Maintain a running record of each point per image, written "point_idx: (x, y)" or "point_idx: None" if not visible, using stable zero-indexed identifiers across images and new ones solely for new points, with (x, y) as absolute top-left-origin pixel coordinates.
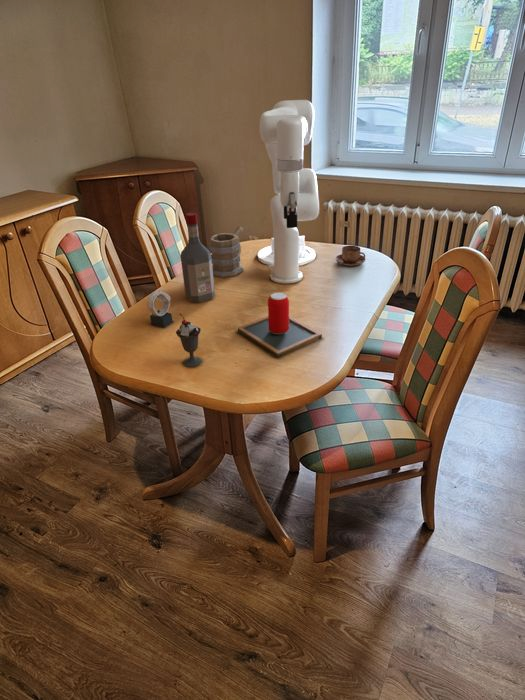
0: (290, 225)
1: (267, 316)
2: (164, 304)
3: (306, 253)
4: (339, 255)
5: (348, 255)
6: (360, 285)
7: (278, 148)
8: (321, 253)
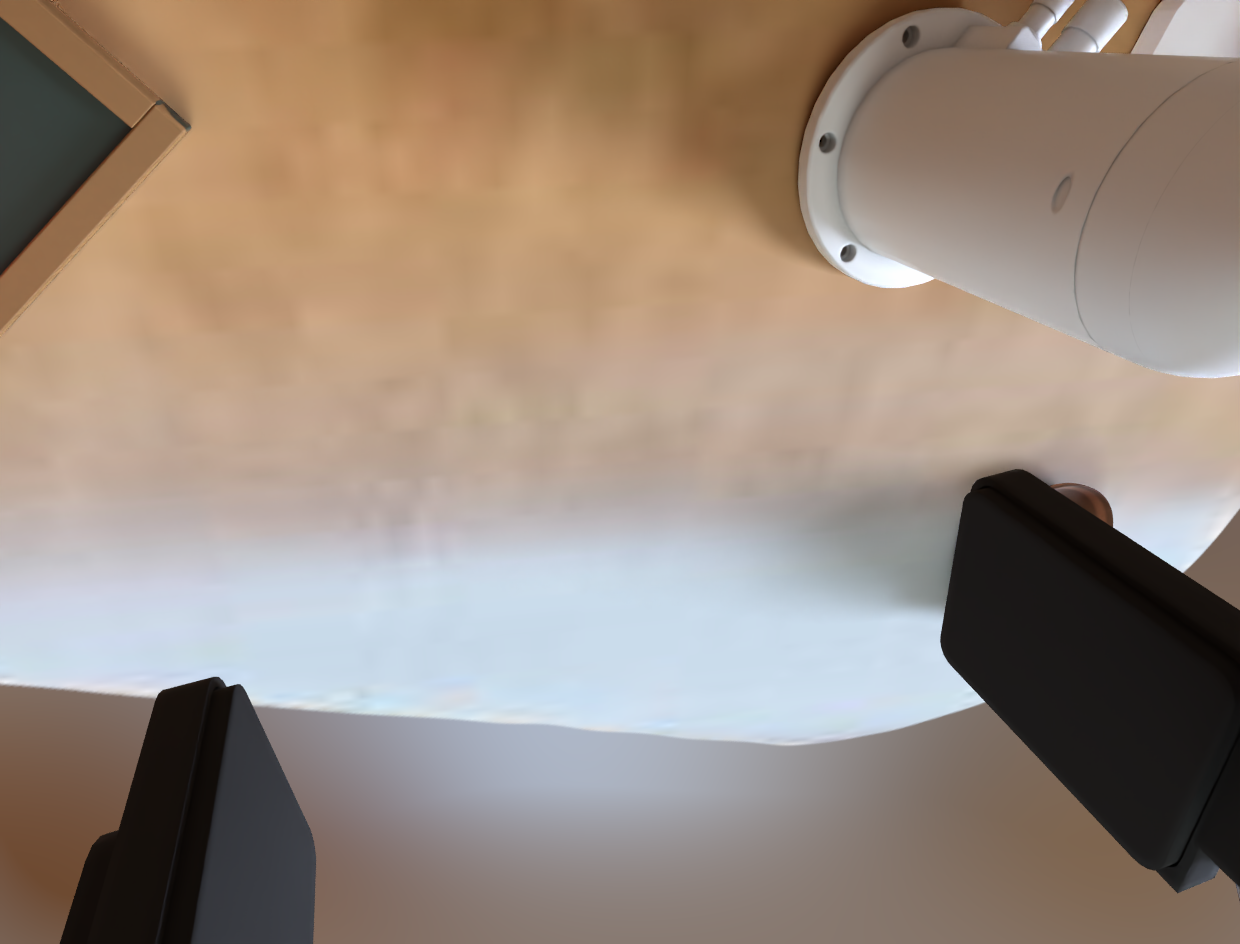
0: (105, 840)
1: (26, 6)
2: None
3: None
4: (1102, 500)
5: None
6: (718, 619)
7: None
8: (1204, 381)
